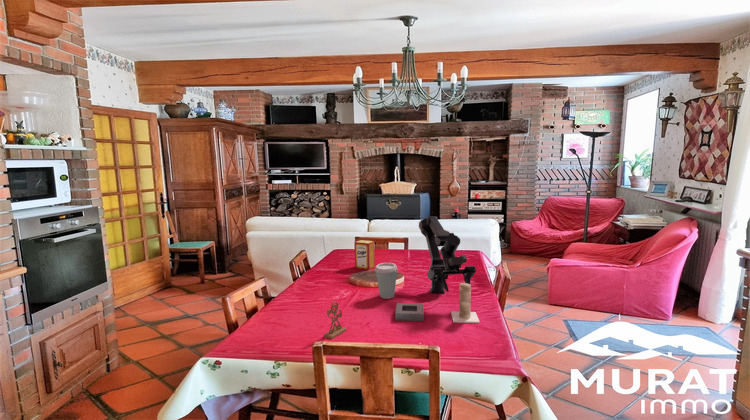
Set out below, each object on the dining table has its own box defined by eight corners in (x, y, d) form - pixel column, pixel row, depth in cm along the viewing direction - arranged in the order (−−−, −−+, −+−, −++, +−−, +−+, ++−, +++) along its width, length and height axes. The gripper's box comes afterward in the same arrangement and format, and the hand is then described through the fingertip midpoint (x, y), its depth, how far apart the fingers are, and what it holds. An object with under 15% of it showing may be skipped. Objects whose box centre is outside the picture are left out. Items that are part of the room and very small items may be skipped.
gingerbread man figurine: (338, 328, 152) (337, 297, 151) (346, 330, 150) (346, 299, 149) (323, 336, 145) (322, 304, 143) (331, 339, 143) (330, 307, 141)
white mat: (451, 312, 166) (451, 311, 166) (475, 313, 165) (475, 312, 165) (453, 322, 156) (453, 321, 156) (479, 323, 155) (479, 321, 155)
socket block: (396, 310, 170) (396, 303, 169) (422, 310, 169) (422, 303, 168) (395, 320, 159) (395, 313, 158) (423, 321, 158) (423, 313, 157)
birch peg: (456, 316, 161) (457, 284, 160) (464, 313, 164) (465, 282, 162) (465, 319, 158) (465, 287, 156) (472, 316, 160) (473, 285, 158)
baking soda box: (355, 268, 236) (354, 241, 234) (361, 265, 242) (360, 239, 240) (368, 270, 231) (368, 242, 229) (374, 267, 237) (374, 240, 235)
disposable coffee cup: (396, 301, 180) (395, 268, 178) (372, 299, 182) (372, 267, 181) (399, 293, 191) (399, 262, 189) (377, 292, 193) (376, 261, 191)
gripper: (433, 249, 167) (441, 283, 158) (475, 247, 171) (486, 280, 161) (427, 263, 176) (435, 295, 167) (467, 260, 180) (477, 292, 170)
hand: (458, 290), depth 166 cm, fingers open, 9 cm apart
